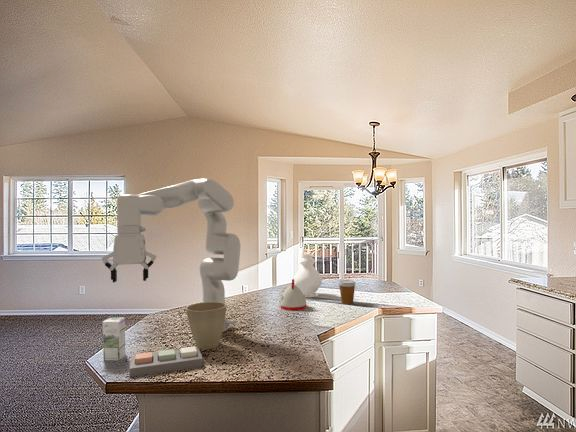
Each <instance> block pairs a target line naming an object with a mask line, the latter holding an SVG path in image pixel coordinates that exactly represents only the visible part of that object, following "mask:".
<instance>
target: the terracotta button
mask: <svg viewBox="0 0 576 432" xmlns="http://www.w3.org/2000/svg"><path fill="white" fill-rule="evenodd" d="M152 353H153V351H149V352H148V351H147V352H140V353H135V355H136V358H135V364H141V363H148V362H152Z"/></svg>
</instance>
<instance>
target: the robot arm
mask: <svg viewBox="0 0 576 432" xmlns="http://www.w3.org/2000/svg"><path fill="white" fill-rule="evenodd" d="M194 201H197V206H198V208H199V209H200V210H201V212H202V213H203V215H204V217H205V219H206V235H205V236H206V237H205V251H206V252H207V253H208V254H210V255H214V256H215V255H217V256H223V257H207V258H205V259H203V260H201V262H200V264H199V275H200V278H201V279H200V280H201V287H202V288H201V289H202V302H222V303H225V304H226V299H225V297H226V294H225V293H226V290H225V285H224V283H223V281H229V282H230V281H233V280H235V279H236V278H237V276H238V273H239V270H240V269H239V268H240V258H241V257H240V255H241V241H240V238H239V237H238V235H236V234H235V233H232V232H228V233H227V220H226V217H225V216H224V214H223V213H227V212H230V211H231V210H232V209H233V207H234V206H235V200H234V197H233V195H232V194H231V192H229V190H227V189H226V188H225V187H223V186H222V185H221V184H220V183H219V182H217V181H216V180H214V179H212V178H209V177H207V178H196V179H190V180H187V181H184V182H180V183H176V184H174V185H170V186H166V187H162V188H158V189H155V190H150V191H147V192H142V193H139V194H120V195H118V196H117V198H116V206H117V207H116V208H117V209H116V217H117V218H116V221H117V224H116V225H117V228H116V229H117V230H116V232H117V234H116V235H115V236H114V241H113V251H112V252H110V253H108V254H107V255H105V256H103V257H102V258H101V260H102V262H103V263H104V265H105V267H106V268H108V270H109V271H110V280H112V283H116V282H117V280H118V275H117V274H118V272H117V267H118V266H120V265H121V266H122V265H123V266H124V265H141V266H142V267H143V270H142V281H143V282H145V281H147V279H148V278H149V268H151V266H152V265H154V262H156V259H157V255H156V254H154V253H152V252H149V251H148V250H147V248H146V240H145V235H144V234H142V232H146V230H147V228H146V226H142V217H155V216H158V215H160V214H161V213H162V212H163V211H164V209H174V208H178V207H181V206H184V205H187V204H189V203H193V202H194ZM147 257H149V258H150V261H149V262H148V263H147V262H146V261H147ZM110 258H112V261H113V264H112V263H110V262H109V259H110ZM236 324H237V320H236V319H232V318H229V319H227V318H226V317H225V321H224V327H223V331H222V333H225V332H227V331H228V330H229V329H230V325H236Z"/></svg>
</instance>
